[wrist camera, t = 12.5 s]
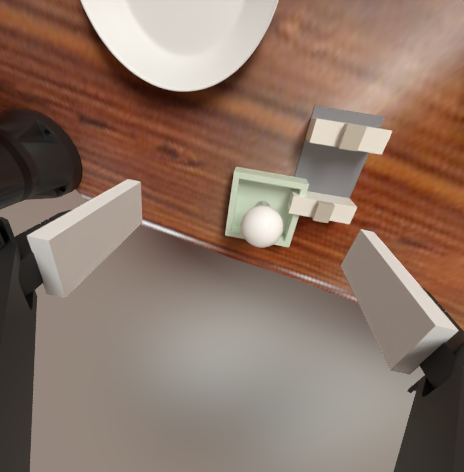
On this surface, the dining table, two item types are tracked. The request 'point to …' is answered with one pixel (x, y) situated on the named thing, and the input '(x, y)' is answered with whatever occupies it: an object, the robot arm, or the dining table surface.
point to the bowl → (181, 37)
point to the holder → (335, 162)
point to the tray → (263, 199)
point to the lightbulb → (262, 225)
